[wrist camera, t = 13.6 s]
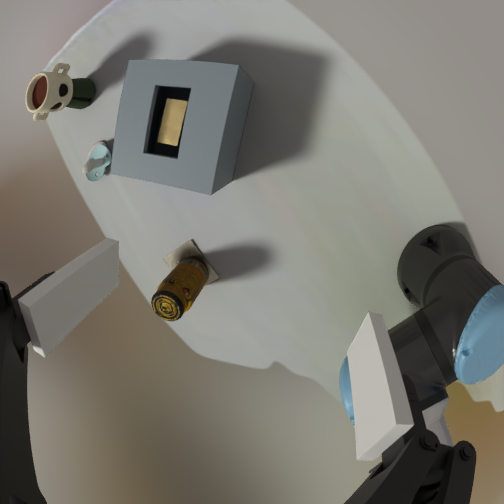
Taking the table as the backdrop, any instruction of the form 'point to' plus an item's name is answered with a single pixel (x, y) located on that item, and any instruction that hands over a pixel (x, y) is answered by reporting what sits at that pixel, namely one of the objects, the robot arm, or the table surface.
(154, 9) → the table surface
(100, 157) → the pacifier
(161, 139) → the gold brushed block
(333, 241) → the table surface
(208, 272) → the condiment
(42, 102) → the character mug
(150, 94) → the box
